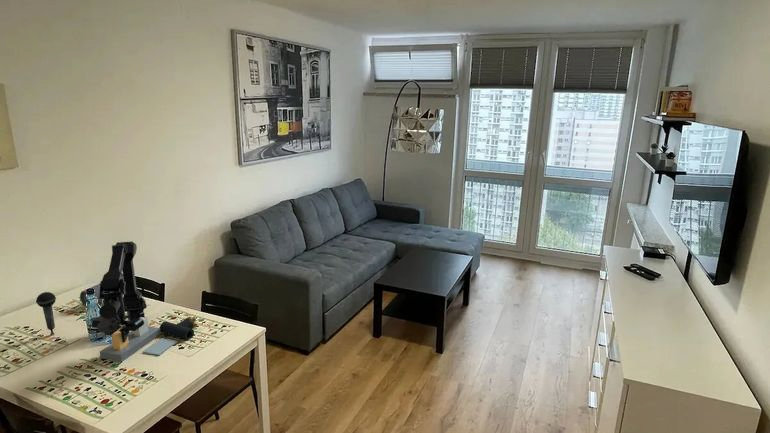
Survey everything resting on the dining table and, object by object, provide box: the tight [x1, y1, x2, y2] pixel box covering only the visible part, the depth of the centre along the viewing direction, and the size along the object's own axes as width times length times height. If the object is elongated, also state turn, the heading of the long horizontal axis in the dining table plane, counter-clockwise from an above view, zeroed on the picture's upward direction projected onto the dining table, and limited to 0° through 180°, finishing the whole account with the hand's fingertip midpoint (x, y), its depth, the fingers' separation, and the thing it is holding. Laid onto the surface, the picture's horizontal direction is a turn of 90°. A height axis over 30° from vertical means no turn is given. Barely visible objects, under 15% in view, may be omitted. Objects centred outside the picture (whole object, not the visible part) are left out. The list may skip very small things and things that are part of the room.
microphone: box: [35, 291, 57, 336], centre depth 188 cm, size 7×7×20 cm
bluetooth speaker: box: [79, 275, 123, 307], centre depth 224 cm, size 23×9×10 cm, turn 159°
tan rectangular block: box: [111, 328, 129, 350], centre depth 178 cm, size 3×5×9 cm, turn 174°
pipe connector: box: [159, 316, 197, 341], centre depth 196 cm, size 12×5×15 cm
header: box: [99, 325, 162, 363], centre depth 184 cm, size 10×22×3 cm, turn 167°
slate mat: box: [142, 337, 178, 357], centre depth 184 cm, size 8×11×1 cm
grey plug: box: [134, 317, 149, 337], centre depth 189 cm, size 3×5×9 cm, turn 167°
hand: (120, 341), depth 178 cm, fingers closed on tan rectangular block, 3 cm apart
